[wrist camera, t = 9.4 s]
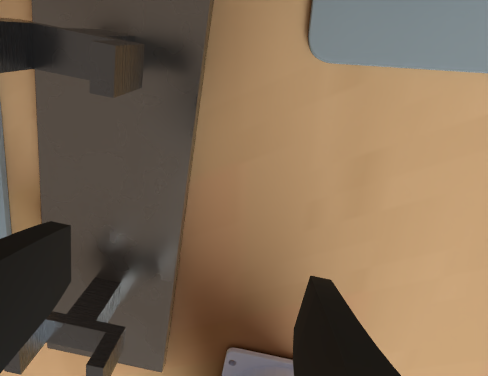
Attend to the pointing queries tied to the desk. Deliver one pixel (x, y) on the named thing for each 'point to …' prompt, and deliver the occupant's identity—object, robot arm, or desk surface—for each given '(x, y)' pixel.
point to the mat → (3, 190)
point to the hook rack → (113, 164)
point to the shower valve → (401, 33)
